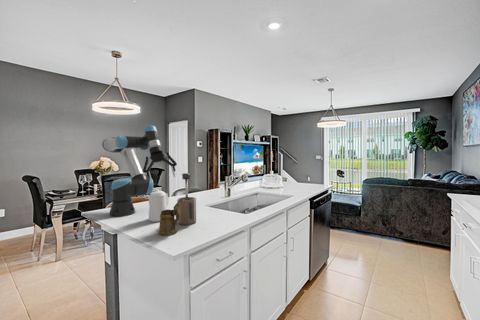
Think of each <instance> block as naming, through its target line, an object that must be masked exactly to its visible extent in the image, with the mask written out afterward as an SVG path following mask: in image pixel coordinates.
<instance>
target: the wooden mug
mask: <svg viewBox="0 0 480 320" xmlns="http://www.w3.org/2000/svg"><path fill="white" fill-rule="evenodd" d="M182 203H183V199H181V200H180V201H178V202H176V203H175V204H174V206H173V209H167V210H163V211H161V214H160V222H159V227H158V233H157V234H158V236H161V237H163V236H164V237H167V236H172V235H175V234H177V232H178V227H177V224H178V220H179V212H178V208H179V207H180V206H181V205H182Z"/></svg>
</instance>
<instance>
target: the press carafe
mask: <svg viewBox="0 0 480 320" xmlns="http://www.w3.org/2000/svg"><path fill="white" fill-rule="evenodd" d="M181 199H183V203H182V205H181V206H180V207H179V208H178V212H179V220H178V222H177V224H178V225H180V226H191V225H195V224H196V223H197V198H196V197H194V196H188V200H186V198H185V196H184V197H179V198H178V199H177V200H176V201H177V202H178V201H180V200H181ZM177 202H176V203H177Z"/></svg>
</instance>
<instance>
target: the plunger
mask: <svg viewBox="0 0 480 320" xmlns="http://www.w3.org/2000/svg"><path fill="white" fill-rule="evenodd" d="M181 175H182V180H184V181H185V182H184V188H185V189H184V191H185V194H184V197H185V198H186V200H188V197H189V185H188V183H189V180H191V173H190V172H189V173H188V172H186V173H185V172H184V173H182V174H181Z"/></svg>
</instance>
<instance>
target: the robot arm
mask: <svg viewBox="0 0 480 320" xmlns="http://www.w3.org/2000/svg"><path fill="white" fill-rule="evenodd" d="M101 145H102V148H103V149H104V151H106V152H109V153H118V154H119V155H120V156H121V157H123V158H124V161H125V164H126V166H127V169H128V172H129V174H130V177H124V178H123V177H122V178H119V179H114V180H113V181H112V183H111V188H110V189H111V206H110V209H109V217H115V218H116V217H117V218H118V217H124V216H125V217H127V216H130V215H133V214H135V212H136V209H135V207H134V204H133V201H132V199H133V198H134V197H138V196H139V197H140V196H146V195H150V194H151V192H154V191H153V190H154V180H153V178H152V175H151V172H150V171H151V169H152V167H153V166H154V164H155V163H157V164H158V163H161V162H164V163H166V165H168V166H170V167H171V172H172V176H173V178H175V177H176V174H175V172H176V166H177V164H178V163H177V162H176V161H175V159H174V158H173V157H172V156H171V155H170V153H169V152H166V153H164V151H163V148H162V143H161V141H160V136H159V132H158V130H157V127H156V126H155V125H147V126H145V127H144V134H143V136H132V135H131V136H129V135H118V136H116V137H107V138H105V139H104V140H102V144H101ZM138 149H140V150H141V151H147V150H148V151H149V154H150V156H145V161H144V165H143V168H142V165H141V162H140V161H139V159H138V155H137V151H138ZM165 157H167V159H168V160H167V159H166V158H165ZM150 160H151V162H150V163H149V161H150ZM148 163H149V165H148Z"/></svg>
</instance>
